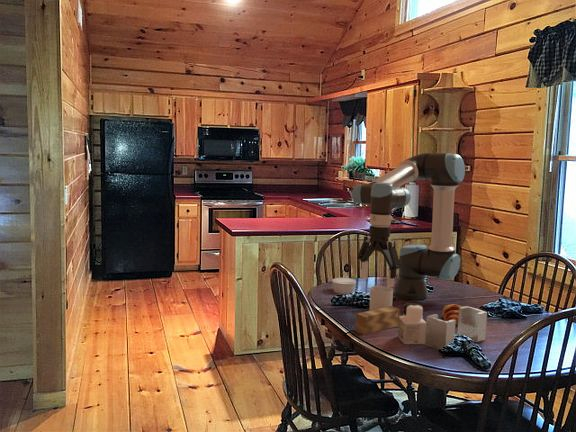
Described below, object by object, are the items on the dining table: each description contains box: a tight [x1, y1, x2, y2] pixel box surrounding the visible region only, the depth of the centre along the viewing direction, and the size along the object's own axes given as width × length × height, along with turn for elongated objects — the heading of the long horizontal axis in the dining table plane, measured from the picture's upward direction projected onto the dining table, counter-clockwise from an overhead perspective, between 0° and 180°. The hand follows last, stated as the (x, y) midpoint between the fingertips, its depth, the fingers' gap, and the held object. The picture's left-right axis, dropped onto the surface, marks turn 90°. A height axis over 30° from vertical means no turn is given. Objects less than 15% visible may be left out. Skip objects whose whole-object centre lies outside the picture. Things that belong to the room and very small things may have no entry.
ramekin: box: [331, 277, 357, 295], centre depth 249 cm, size 11×11×5 cm
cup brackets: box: [424, 305, 488, 351], centre depth 187 cm, size 22×8×10 cm, turn 126°
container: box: [397, 302, 426, 345], centre depth 188 cm, size 8×8×13 cm
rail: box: [354, 305, 401, 335], centre depth 200 cm, size 18×4×6 cm, turn 126°
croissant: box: [441, 303, 463, 326], centre depth 212 cm, size 21×10×8 cm, turn 160°
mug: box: [368, 285, 394, 311], centre depth 216 cm, size 12×9×11 cm
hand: (377, 282), depth 198 cm, fingers open, 13 cm apart
